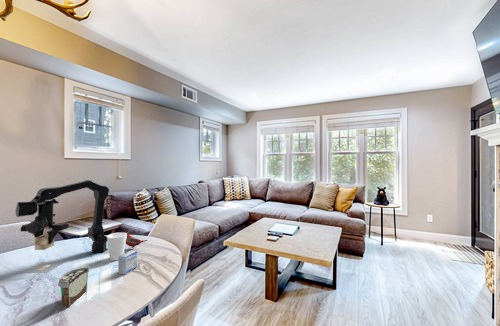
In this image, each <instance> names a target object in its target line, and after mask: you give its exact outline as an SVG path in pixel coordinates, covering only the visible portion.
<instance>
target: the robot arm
mask: <svg viewBox="0 0 500 326" xmlns="http://www.w3.org/2000/svg"><path fill="white" fill-rule="evenodd" d="M83 189H89V190H90V191H93V198H94V201H95V202H94V210H93V217H92V218H93V219H92V225H91V227H88V228H87V234H86V235H87V237H88V238H89V239H90V240H91V241H92V244H91V252H90V254H103V253H105V252H106V251H109V249H108V247H107V244H108V241H107V235H105V232H104V231H105V230H104V226H103V221H104V220H103V219H104V211H105V203H106V200H107V198H108V195H109V192H110V189H109V187H108V186H105V185H100V184H98V183H96V182H94V181H92V180H87V179H84V180H82V181H79V182H75V183H70V184H66V185H62V186H54V187H43V188H42V187H41V188H40V189H39V190H38V191H37V192H36V195H35V196H34V198H32V200H30V201H18V202H17V203H16V204H17V205H16V207H15V216H16V218H19V217H27V216H28V217H29V216H33V215H35V214H36V213H37V215H36V216H35V217H34V220H33V221H30V222H29V223H26V224H23V225H22V226H21V227H20V232H27V233H28V234H32V235H33V237H34V238H35V237H38V236H41V235H44V232H45V230H48V229H49V231H46V234H48V235H49V236H48V242H49V244H51V243H52V241H53V239H54V238H56V236H57V234H58V233H59V232H61V231H64V230H67V229H69V223H68V222H59V223H56V222H55V221H54V217H55V216H56V214H55V213H54V204H59V202H60V201H57V200H56V198H58V197H60V196H61V195H64V194H68V193H72V192H75V191H79V190H83ZM54 240H55V239H54Z"/></svg>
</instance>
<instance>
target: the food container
mask: <svg viewBox="0 0 500 326" xmlns="http://www.w3.org/2000/svg"><path fill="white" fill-rule="evenodd" d="M89 272H90V269H89V266H88V267H87V266H85V267H79V268H75V269H72V270H69V271H67V272H66V273H64V274H63V275H61V276H60V278H59V280H58V284H57V285H58V286H59V288H60V295H61V305H62V306H63V307H64V306H66V307H65V308H71V307H72V306H73V305H74V304H75V303H76V302H77V301H78V300H77V299H79V298H80V297H81V296H82V295H83V294H84V293H85V292H86V293H87V292H88V290H87V289H88V278H89ZM86 293H85V294H86ZM85 294H84V295H85ZM84 295H83V296H84ZM83 296H82V297H83ZM82 297H81V298H82ZM81 298H80V299H81ZM80 299H79V300H80ZM76 300H77V301H76ZM75 301H76V302H75ZM74 302H75V303H74ZM73 303H74V304H73ZM72 304H73V305H72ZM71 305H72V306H71ZM70 306H71V307H70Z"/></svg>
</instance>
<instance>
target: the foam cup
mask: <svg viewBox="0 0 500 326" xmlns="http://www.w3.org/2000/svg"><path fill="white" fill-rule="evenodd" d="M126 233H127V232H113V233H110V234H108V235H106V237H107V248H108V255H109V260H110V261H112V262H113V260H116V261H118V257H119V256H120V255H122V254H124V253H125V248H126V238H127V234H126Z"/></svg>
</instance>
